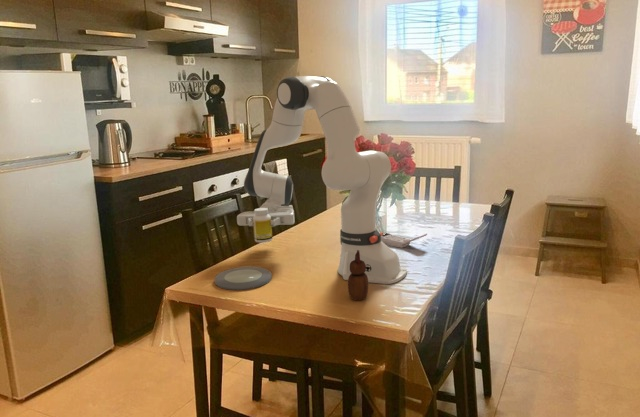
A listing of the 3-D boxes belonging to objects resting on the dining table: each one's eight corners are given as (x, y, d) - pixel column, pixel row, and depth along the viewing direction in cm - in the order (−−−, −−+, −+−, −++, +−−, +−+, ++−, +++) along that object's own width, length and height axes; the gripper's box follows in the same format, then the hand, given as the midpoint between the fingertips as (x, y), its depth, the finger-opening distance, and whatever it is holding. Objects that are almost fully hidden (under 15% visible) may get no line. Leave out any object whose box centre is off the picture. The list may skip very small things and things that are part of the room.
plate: (282, 274, 174) (282, 271, 174) (247, 294, 159) (247, 289, 159) (239, 267, 183) (239, 263, 183) (203, 284, 168) (202, 280, 168)
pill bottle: (276, 240, 183) (274, 208, 180) (261, 244, 179) (259, 212, 176) (265, 237, 187) (263, 206, 185) (251, 240, 183) (248, 209, 181)
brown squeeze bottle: (367, 303, 149) (366, 252, 146) (346, 302, 150) (345, 251, 147) (369, 293, 156) (368, 244, 152) (350, 293, 157) (348, 244, 154)
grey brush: (419, 237, 191) (364, 226, 207) (419, 253, 192) (364, 240, 209) (428, 233, 195) (373, 223, 212) (428, 249, 196) (373, 237, 213)
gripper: (241, 206, 195) (231, 215, 181) (296, 205, 192) (290, 214, 179) (242, 223, 196) (232, 233, 183) (297, 222, 194) (291, 232, 180)
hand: (261, 223), depth 181 cm, fingers closed on pill bottle, 6 cm apart
